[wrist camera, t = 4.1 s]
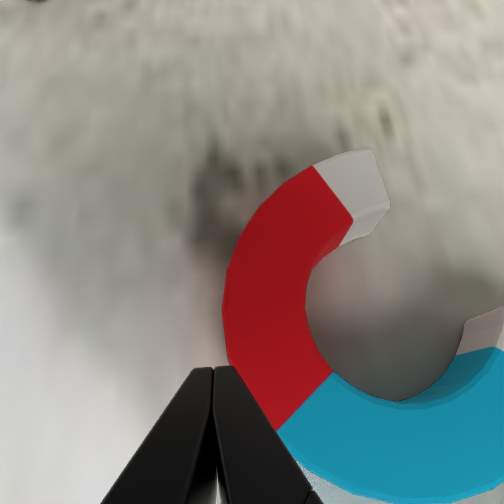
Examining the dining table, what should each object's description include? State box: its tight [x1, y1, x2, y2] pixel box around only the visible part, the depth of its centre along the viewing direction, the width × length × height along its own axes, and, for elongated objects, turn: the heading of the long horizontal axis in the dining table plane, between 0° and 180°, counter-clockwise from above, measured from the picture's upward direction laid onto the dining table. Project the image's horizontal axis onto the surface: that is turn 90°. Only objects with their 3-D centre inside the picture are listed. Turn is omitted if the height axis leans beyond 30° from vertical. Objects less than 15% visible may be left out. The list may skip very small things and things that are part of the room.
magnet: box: [222, 147, 504, 504], centre depth 14 cm, size 12×3×10 cm
